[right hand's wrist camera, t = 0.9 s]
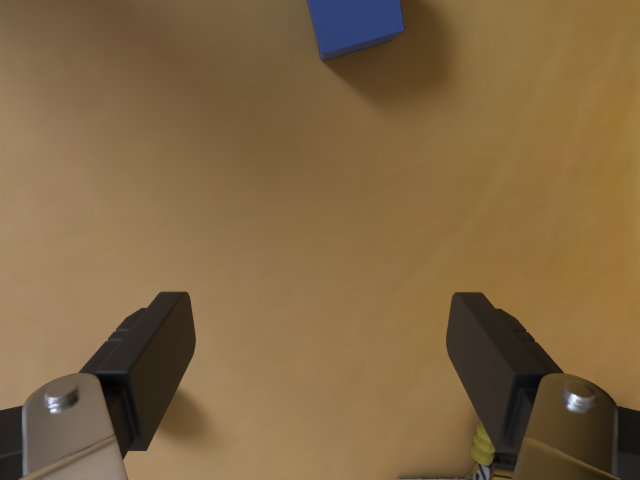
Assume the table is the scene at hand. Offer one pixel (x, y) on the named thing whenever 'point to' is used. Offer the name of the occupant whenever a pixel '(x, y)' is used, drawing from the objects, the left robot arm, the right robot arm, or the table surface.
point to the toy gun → (486, 460)
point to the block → (354, 24)
